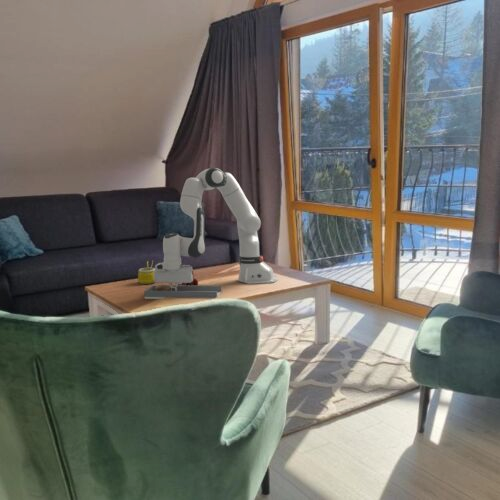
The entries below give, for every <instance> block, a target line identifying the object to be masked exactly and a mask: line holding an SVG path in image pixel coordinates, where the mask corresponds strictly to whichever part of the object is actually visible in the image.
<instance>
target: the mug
mask: <svg viewBox="0 0 500 500" xmlns="http://www.w3.org/2000/svg"><path fill="white" fill-rule="evenodd" d="M153 263H154V260H151V266H150V267H149V260H148V261H146V267H142V268H139V269H138V271H137V272H138V273H137V281H138V283H140V284H141V285H150V284H154V283H155V281H154V271H155V270H156V269H155V267H153Z"/></svg>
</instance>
